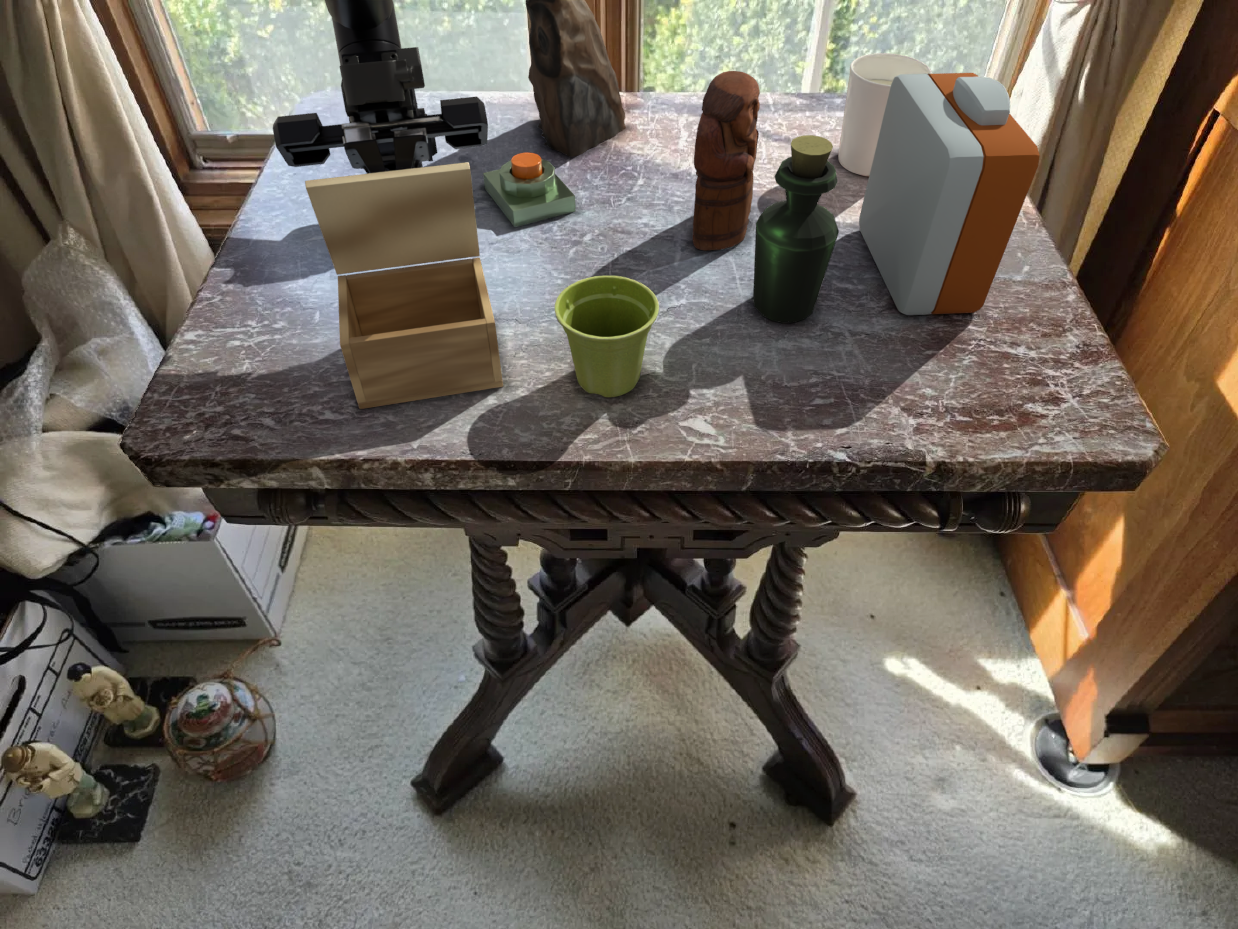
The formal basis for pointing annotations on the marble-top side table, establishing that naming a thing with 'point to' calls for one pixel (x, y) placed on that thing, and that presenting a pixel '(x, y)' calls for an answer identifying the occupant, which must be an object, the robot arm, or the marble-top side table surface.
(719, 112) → the wooden figurine
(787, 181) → the potion bottle
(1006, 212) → the alarm clock
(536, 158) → the button
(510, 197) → the button block
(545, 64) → the owl
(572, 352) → the plant pot
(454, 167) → the lid
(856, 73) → the candle holder
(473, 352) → the chest
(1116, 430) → the marble-top side table surface
